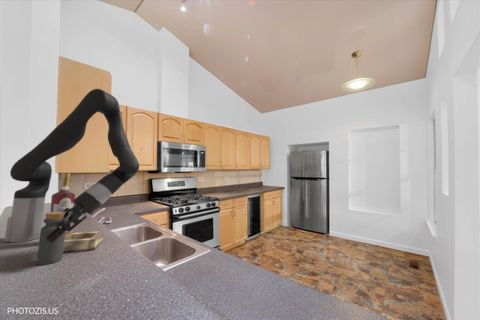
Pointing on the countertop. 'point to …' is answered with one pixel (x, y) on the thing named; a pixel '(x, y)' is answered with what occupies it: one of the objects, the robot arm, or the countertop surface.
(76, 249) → the wooden tray
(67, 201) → the liquor
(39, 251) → the bottle
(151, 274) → the countertop surface
